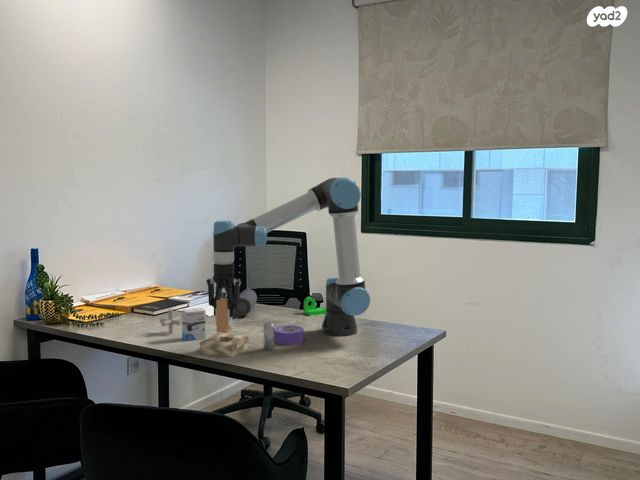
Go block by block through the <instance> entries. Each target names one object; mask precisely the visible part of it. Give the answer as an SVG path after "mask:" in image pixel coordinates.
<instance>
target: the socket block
mask: <svg viewBox="0 0 640 480" xmlns="http://www.w3.org/2000/svg"><path fill="white" fill-rule="evenodd" d="M248 347H249V335H241V334H231V333H220V332H216V333H215V334H213V335H211V336H209V337H206V339H203V340H202V341H199V354H205V355H213V354H214V356H222V355H223V356H225V357H233V356H235V355H237V354H238V352H239V353H241V352H242V351H244V350H245V349H247V348H248Z"/></svg>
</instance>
